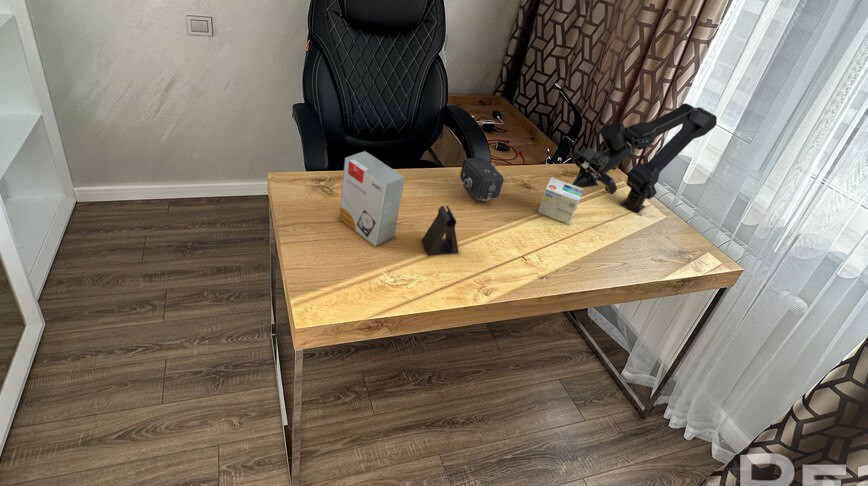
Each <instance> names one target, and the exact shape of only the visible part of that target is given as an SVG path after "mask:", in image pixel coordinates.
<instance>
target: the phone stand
mask: <svg viewBox="0 0 868 486" xmlns="http://www.w3.org/2000/svg"><path fill="white" fill-rule="evenodd" d="M445 207H446V208H445ZM446 209H447V210H446ZM456 225H457V219H456V218H455V216H454V214H453V212H452V211H451V208H450V207H449V206H448V205H445V206H444V205H441V206H440V207H438V210H437V215H436V217H435V218H434V220H433V221H432V223H431V224H430V226H429V227H428V229H427V230H426V232H425V233H424V235H423V237H422V239H421V243H422V246H423V248H424V250H425V252H426V254H427V256H438V255H439V256H440V255H442V256H443V255H458V254H459V246H458V241H457V233H456ZM444 237H445V238H444Z"/></svg>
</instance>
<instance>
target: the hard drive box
mask: <svg viewBox="0 0 868 486" xmlns="http://www.w3.org/2000/svg"><path fill="white" fill-rule="evenodd" d="M405 179H406V177H405V176H404V175H402V174H401V173H400V172H398V171H397V170H395V169H393V168H391V167H390V166H389V165H387V164H385V163H384V162H383V161H381V160H380V159H379V158H377V157H376V156H373V155H372V154H370V153H369V152H367V151H366V150H364V151H361V152H358V153H355V154H352V155H349V156H347V157H344V164H343V174H342V182H341V183H342V184H341V192H340V193H341V194H340V204H339V213H338V214H339V215H338V219H339V220H341V221H342V222H343V223H344V224H345V225H346V226H348V227H349V228H351V229H352V230H353V231H354V232H356V233H357V234H358V235H360V236H361V237H362V238H363V239H364V240H366V241H367V242H368V243H370V244H371V245H372V246H374V247H377V246H379V245H381V244H383V243H385V242H387V241H389V240H391V239H392V238H395V234H396V227H397V223H398V217H399V211H400V206H401V202H402V201H401V200H402V196H403V190H404V185H405Z"/></svg>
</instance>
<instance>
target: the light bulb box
mask: <svg viewBox="0 0 868 486" xmlns="http://www.w3.org/2000/svg"><path fill="white" fill-rule="evenodd" d="M572 184H573V183H569V182H567V181H564V180H560V179H558V178H555V177H552V176H551V178H549V181H548V183H547V185H546V187H545V189H544V192H543V195H542V198H541V201H540V204H539V206H538V210H537V213H538V214H541V215H543V216H545V217H548V218H551V219H553V220H556V221H559V222H561V223H563V224H567V225H570V223H571V222H572V220H573V219H572V218H573V217H574V214H575V212H576V210H577V207H578V205H579V202H580V200H581V197H582V195H583V192H584V188H581V187H578V186H575V185H572Z"/></svg>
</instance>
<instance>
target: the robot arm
mask: <svg viewBox="0 0 868 486" xmlns="http://www.w3.org/2000/svg"><path fill="white" fill-rule="evenodd" d="M717 120H718V117H717V115H716V114H713V113H711V111H708V110H706V109H705V108H703V107H701V106H698V107H695V106H693V105H691V104H690V103H686V102H685V103H682V104H680V105H679V106H678V107H677V108H675V109H673V110H671V111H668V112H667V113H665V114H663V115H660V116H659V117H657V118H655V119H652V120H651V121H644V122H638V123H634V124H631V125H629V126H626V127H625V124H624V123H622V122H621V121H618V122H616V123H609V124H605V125H604V126H603V127H602V128H601V130H600V136H601V139H602V140H603V142H604V145H605V147H606V148H607V149H605V150H601V149H600V150H599V151H597V150H595V149H593V148H591V147H590V146H587V148H586V149H585V150H584V151H583V152H581V151H580V150H574V151H572V152H571V153H570V154H569V155H570V158H571V159H572V161H573V163H574V165H575V166H576V167H578V168H579V171H578V174H577V175H576V177H575V179H574V181H573V182H572V183H571V184H572V185H575V186H578V187H581V188H583V189H584V188H591V187H599V184H600V183H601V184H602V185H603V186H605V187H604V191H605V192H607V194H609V195H610V196H613V195H614V194H615V193H617V190H618V186H617V184H616V182H615V180H614V179H613V178H612V177H611V176H610V175H609V174H607V173H609V172H610V171H611V170H613V171H615V170H617V167H616V166H617V165H620V163H621V162H622V161H624V160H625V159H627V158H629V159H631V160H632V159H633V158H634V154H635V153H634V152H635V150H634V149H633V148H635V149H636V150H638V151H641V150H644V149H646V148H647V147H649V146H650V145H652V144H653V143H654V142H655V140H656V138H658V137H659V136H661V135H662V134H665V133H666V132H668V131H671V130H673V129H674V128H677V127H679V126H680V125H682V126H681V129H679V130H678V131H677V133H675V135H674V136H672V137H671V138H670V140H669V141H667V142H666V143H665V145H664V146H663V147H661V148H660V149H659V151H658V152H656V154H655V155H653V157H652V158H651V159H649V161H648V162H644V163H641V162H639V163H636V165H635V166H634V167H633V168H632V169H631V170H630V171H629V173H628V174H627V179H626V186H627V187H628V188H630V190H629V192H628V194H627V196H626V198H625V199H624V200H623V201H621V202H620V206H623V207H625V208H626V209H628V210H631V211H632V212H634V213H636V214H639V213H640V212H641V211H642V210H643V209H645V205H644V203H645V201H646V200H651V199H652V198H654V197H655V196H656V195H657V193H658V191H657V189H656V187H655V185H656V184H657V183H658V181H659V179H660V173H661V172H662V171H663V170H664V169H665V168H666V167H667V166H668V165H669V164H670V163H671V162H672V161H673V160H674V159H675V158H676V157H677V156H678V155H679V154H681V152H682V151H683V150H684V149H685V148H686V147H688V145H689V144H690V143H691V142H692V141H694V139H697V138H700V137H703V136H706V135H707V134H708V133H709V132H710V131H712V130H713V129H714V128H715V127H716V126H717V123H718V121H717ZM631 146H632V147H633V148H632V147H631Z"/></svg>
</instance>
